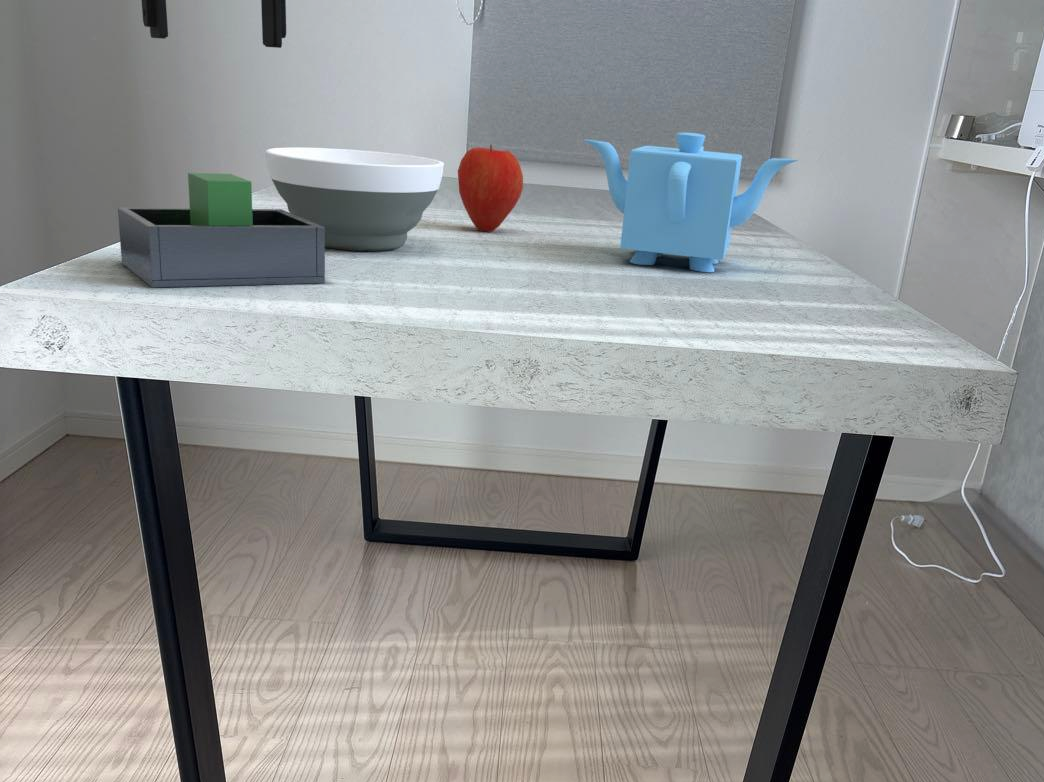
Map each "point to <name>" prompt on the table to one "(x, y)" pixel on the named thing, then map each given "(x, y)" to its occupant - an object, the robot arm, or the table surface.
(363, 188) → the bowl
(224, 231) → the grey open box
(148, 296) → the table surface
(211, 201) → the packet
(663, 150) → the teakettle
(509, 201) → the apple
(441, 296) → the table surface
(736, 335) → the table surface
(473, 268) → the table surface
